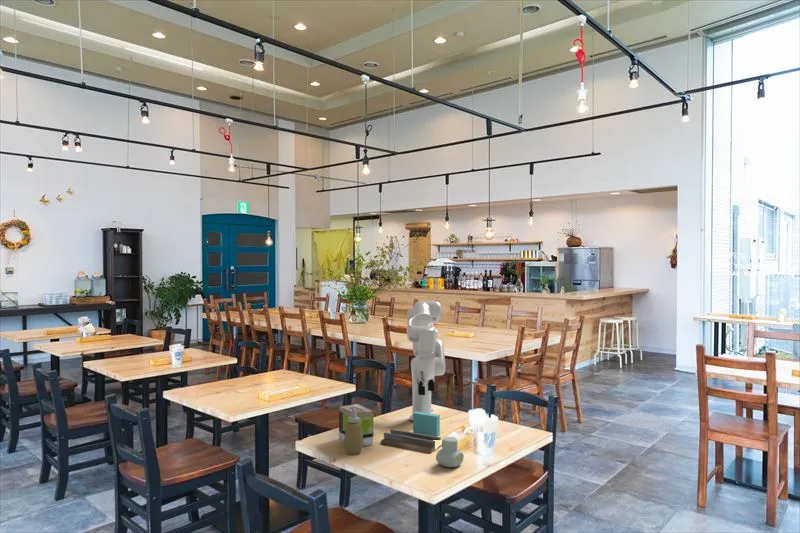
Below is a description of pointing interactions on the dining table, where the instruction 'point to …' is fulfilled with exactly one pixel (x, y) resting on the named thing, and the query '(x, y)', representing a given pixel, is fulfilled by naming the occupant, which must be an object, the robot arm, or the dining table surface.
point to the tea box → (364, 419)
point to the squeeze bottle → (353, 434)
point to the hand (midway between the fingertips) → (426, 392)
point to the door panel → (426, 424)
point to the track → (410, 440)
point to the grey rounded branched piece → (449, 453)
